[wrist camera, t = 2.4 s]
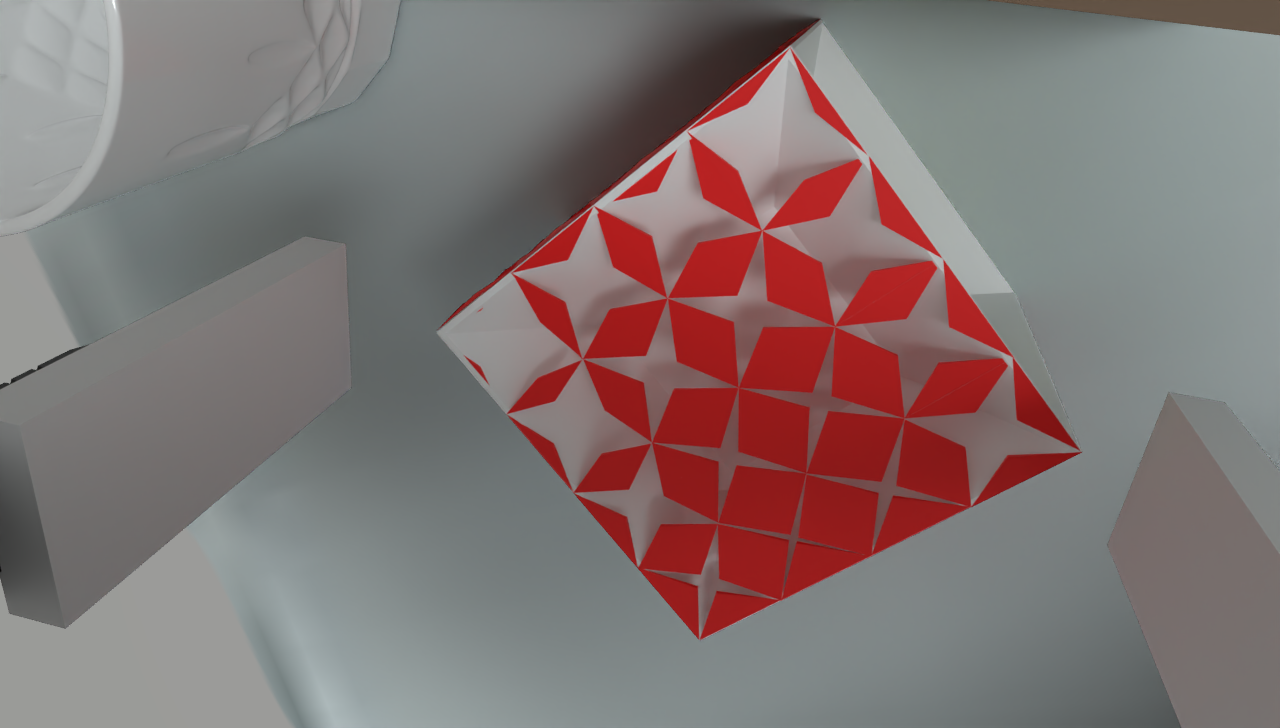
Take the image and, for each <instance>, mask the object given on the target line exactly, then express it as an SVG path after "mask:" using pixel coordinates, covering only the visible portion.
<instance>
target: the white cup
mask: <svg viewBox="0 0 1280 728" xmlns="http://www.w3.org/2000/svg"><path fill="white" fill-rule="evenodd" d="M400 2H401V0H0V236H7V235H12V234H17V233H21V232H25V231H28V230H31V229H34V228H36V227H39V226H42V225H44V224H47V223H50V222H52V221H55V220H58V219H60V218H63V217H66V216H68V215H71V214H74V213H76V212H79V211H82V210H85V209H87V208H90V207H93V206H95V205H98V204H101V203H103V202H106V201H109V200H112V199H114V198H117V197H120V196H123V195H125V194H128V193H131V192H134V191H136V190H139V189H142V188H145V187H147V186H150V185H153V184H156V183H159V182H161V181H164V180H166V179H169V178H171V177H174V176H176V175H179V174H182V173H185V172H188V171H190V170H193V169H196V168H199V167H201V166H204V165H207V164H210V163H212V162H215V161H218V160H221V159H224V158H226V157H229V156H232V155H235V154H239V153H240V152H242V151H244V150H246V149H248V148H251V147H253V146H255V145H257V144H259V143H261V142H265V141H267V140H270V139H273V138H276V137H278V136H280V135H281V134H282V133H283V132H284V131H285V130H286V129H288V128H289V127H291V126H293V125H296V124H298V123H300V122H303V121H305V120H308V119H311V118H313V117H316V116H319V115H321V114H324V113H327V112H329V111H332V110H335V109H337V108H340V107H342V106H345V105H348V104H350V103H353V102H355V101H356V100H357V99H358V97H359V96H360V95H361V94H362V92H363V91H364V90H365V88H366V87H367V86H368V85H369V83H370V82H371V81H372V79H373V78H374V77H375V76H376V74H377V73H378V72H379V71H380V69H381V68H382V67H383V65H384V64H385V63H386V62H387V60H388V59H389V56H390V51H391V46H392V41H393V36H394V31H395V27H396V22H397V17H398V12H399V7H400Z"/></svg>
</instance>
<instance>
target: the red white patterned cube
mask: <svg viewBox="0 0 1280 728" xmlns="http://www.w3.org/2000/svg"><path fill="white" fill-rule="evenodd" d="M817 21H818V20H817ZM817 21H816V22H817ZM816 22H814V23H812V24H811V25H809V26H808V27H806V28H804V29H803V30H801V31H800V32H798V33H796V34H797V35H795V36H794V37H792V38H790V39H789V40H788V41H787V42H785V43H784V44H782V45H781V46H779V48H778V49H777V50H776V51H775V52H774V53H773V54H772V55H770V56H769V57H768V58H767V59H765V60H764V61H763V62H762V63H760V64H759V65H758V66H757V67H756V68H754V69H753V70H752V71H750V72H749V73H747V74H746V75H744V76H743V77H742V78H740V79H739V80H737V81H736V82H735V83H733V84H732V85H731V86H730V87H729V88H728V89H727V90H726V91H725V92H724V93H723V94H722V95H721V96H720V97H719V98H718V99H717V100H715V101H714V102H713V103H712V104H710V105H709V106H708V107H706V108H705V109H704V110H703V111H702V112H701V113H700V114H698V115H697V116H696V117H694V118H693V119H692V120H690V121H689V122H688V123H687V124H686V125H685V126H683V127H682V128H681V129H679V130H678V131H677V132H675V133H674V135H672V136H671V137H669V138H668V139H667V140H666V141H665V142H664V143H662V144H661V145H660V146H658V147H657V148H656V149H655V150H654V151H653V152H651V153H650V154H648V155H647V156H645V157H644V158H642V159H641V160H640V161H639V162H638V163H637V164H636V165H635V166H634V167H632V168H631V169H630V170H629V171H628V172H627V173H625V174H624V175H623V176H622V177H620V178H619V179H618V180H617V181H616V182H614V183H613V184H612V185H611V186H610V187H609V188H607V189H606V190H604V191H603V192H602V193H601V194H600V195H599V196H598V197H596V198H595V199H593V200H592V201H590V202H589V203H588V204H587V205H586V206H585V207H584V208H582V209H581V210H580V211H578V212H577V213H575V214H574V215H573V216H572V217H571V218H570V219H569V220H568V221H566V222H565V223H564V224H562V225H561V226H559V227H558V228H556V229H555V230H554V231H553V232H552V233H551V234H550V235H549V236H548V237H546V238H545V239H543V240H542V241H541V242H540V243H539V244H538V245H537V246H536V247H535V248H534V249H533V250H531V251H530V252H529V253H528V254H527V255H525V256H523V257H522V258H520V259H519V260H518V261H516V262H515V263H514V264H513V265H512V266H511V267H509V268H508V269H506V270H505V271H504V272H503V273H502V274H501V275H500V276H499V277H498V278H497V279H496V280H495V281H494V282H492V283H491V284H489V285H488V286H486V287H485V288H483V289H482V290H480V291H479V292H477V293H476V294H474V295H473V296H472V297H471V298H470V299H469V300H468V301H467V302H466V303H463V304H462V305H461V306H460V307H459V308H458V309H457V310H456V311H455V312H454V313H453V314H452V315H451V316H450V317H449V318H448V319H447V320H446V322H445V323H447V322H448V321H449V320H450V319H452V318H453V317H454V316H455V315H457V314H458V313H459V312H460V311H461V310H463V309H464V308H465V307H466V306H468V305H469V304H470V303H471V302H473V301H474V300H475V299H476V298H477V297H479V296H480V295H481V294H482V293H484V294H482V295H481V296H480V297H479V298H477V299H476V300H475V301H474V302H473V303H471V304H470V305H469V306H468V307H466V308H465V309H464V310H463V311H462V312H460V313H459V314H458V315H457V316H455V317H454V318H453V319H452V320H451V321H449V322H448V323H447V324H446V325H444V324H445V323H444V324H443V325H444V326H443V325H442V326H443V327H442V326H441V327H442V328H441V329H440V330H438V331H437V332H436V333H437V334H438V335H439V336H440V337H441V339H442V340H443V341H444V342H445V343H446V344H447V346H448V347H449V348H450V349H451V350H452V351H453V353H454V354H455V355H456V356H457V357H458V358H459V360H460V361H461V362H462V363H463V364H464V365H465V367H466V368H467V369H468V370H469V371H470V372H471V374H472V375H473V376H474V377H475V378H476V379H477V381H478V382H479V383H480V384H481V385H482V387H483V388H484V389H485V390H486V391H487V392H488V394H489V395H490V396H491V397H492V398H493V399H494V401H495V402H496V403H497V404H498V405H499V406H500V408H501V409H502V410H503V411H504V412H505V413H506V415H507V416H508V417H509V418H510V419H511V420H512V422H513V423H514V424H515V425H516V426H517V427H518V429H519V430H520V431H521V432H522V433H523V434H524V436H525V437H526V438H527V439H528V440H529V441H530V443H531V444H532V445H533V446H534V447H535V448H536V450H537V451H538V452H539V453H540V454H541V455H542V457H543V458H544V459H545V460H546V461H547V463H548V464H549V465H550V466H551V467H552V468H553V470H554V471H555V472H556V473H557V474H558V475H559V477H560V478H561V479H562V480H563V481H564V482H565V484H566V485H567V486H568V487H569V488H570V489H571V491H572V492H573V493H574V494H575V495H576V497H577V498H578V499H579V500H580V501H581V502H582V504H583V505H584V506H585V507H586V508H587V509H588V511H589V512H590V513H591V514H592V515H593V516H594V518H595V519H596V520H597V521H598V522H599V523H600V525H601V526H602V527H603V528H604V529H605V530H606V532H607V533H608V534H609V535H610V536H611V537H612V539H613V540H614V541H615V542H616V543H617V544H618V546H619V547H620V548H621V549H622V550H623V551H624V553H625V554H626V555H627V556H628V557H629V558H630V560H631V561H632V562H633V563H634V564H635V565H636V567H637V568H638V569H639V570H640V571H641V573H642V574H643V575H644V576H645V577H646V578H647V580H648V581H649V582H650V583H651V584H652V585H653V587H654V588H655V589H656V590H657V591H658V592H659V594H660V595H661V596H662V597H663V598H664V599H665V601H666V602H667V603H668V604H669V605H670V606H671V608H672V609H673V610H674V611H675V612H676V613H677V615H678V616H679V617H680V618H681V619H682V620H683V622H684V623H685V624H686V625H687V626H688V627H689V629H690V630H691V631H692V632H693V633H694V635H695V636H696V637H697V638H698V639H699V640H700V641H701V640H703V639H705V638H707V637H709V636H712V635H714V634H716V633H718V632H720V631H722V630H724V629H726V628H728V627H730V626H732V625H734V624H736V623H738V622H740V621H742V620H744V619H746V618H748V617H750V616H752V615H754V614H756V613H758V612H760V611H762V610H764V609H766V608H768V607H770V606H772V605H774V604H776V603H778V602H780V601H782V600H784V599H786V598H788V597H790V596H792V595H794V594H796V593H798V592H800V591H803V590H805V589H807V588H809V587H811V586H813V585H815V584H817V583H819V582H821V581H823V580H825V579H827V578H829V577H831V576H833V575H835V574H837V573H839V572H841V571H843V570H845V569H847V568H849V567H851V566H853V565H855V564H857V563H859V562H861V561H863V560H865V559H867V558H869V557H872V556H873V555H875V554H877V553H879V552H881V551H883V550H885V549H887V548H889V547H891V546H893V545H896V544H898V543H900V542H902V541H904V540H906V539H908V538H910V537H912V536H914V535H916V534H918V533H920V532H922V531H924V530H926V529H928V528H930V527H932V526H934V525H936V524H938V523H940V522H942V521H944V520H946V519H948V518H950V517H952V516H954V515H956V514H958V513H960V512H962V511H964V510H966V509H968V508H970V507H973V506H975V505H977V504H979V503H981V502H983V501H985V500H987V499H989V498H991V497H993V496H995V495H997V494H999V493H1001V492H1003V491H1005V490H1007V489H1009V488H1011V487H1013V486H1015V485H1017V484H1019V483H1021V482H1023V481H1025V480H1027V479H1029V478H1031V477H1033V476H1035V475H1037V474H1039V473H1041V472H1043V471H1046V470H1048V469H1050V468H1052V467H1054V466H1056V465H1058V464H1060V463H1062V462H1064V461H1066V460H1068V459H1070V458H1072V457H1074V456H1076V455H1078V454H1080V453H1082V450H1081V448H1080V445H1079V443H1078V441H1077V438H1076V436H1075V433H1074V431H1073V429H1072V426H1071V424H1070V422H1069V419H1068V417H1067V414H1066V412H1065V410H1064V407H1063V405H1062V403H1061V400H1060V398H1059V396H1058V393H1057V391H1056V388H1055V386H1054V384H1053V381H1052V379H1051V377H1050V374H1049V372H1048V369H1047V367H1046V365H1045V362H1044V360H1043V358H1042V355H1041V353H1040V350H1039V348H1038V346H1037V343H1036V341H1035V339H1034V336H1033V334H1032V332H1031V329H1030V327H1029V324H1028V322H1027V320H1026V317H1025V315H1024V313H1023V310H1022V308H1021V305H1020V303H1019V301H1018V298H1017V296H1016V294H1015V293H1014V291H1013V290H1012V289H1011V287H1010V286H1009V284H1008V283H1007V282H1006V280H1005V279H1004V277H1003V276H1002V275H1001V273H1000V272H999V270H998V269H997V267H996V266H995V265H994V263H993V262H992V260H991V259H990V258H989V256H988V255H987V253H986V252H985V251H984V249H983V248H982V246H981V245H980V244H979V242H978V241H977V239H976V238H975V237H974V235H973V234H972V232H971V231H970V229H969V228H968V227H967V225H966V224H965V222H964V221H963V220H962V218H961V217H960V215H959V214H958V213H957V211H956V210H955V208H954V207H953V206H952V204H951V203H950V201H949V200H948V198H947V197H946V196H945V194H944V193H943V191H942V190H941V189H940V187H939V186H938V184H937V183H936V182H935V180H934V179H933V177H932V176H931V175H930V173H929V172H928V170H927V169H926V167H925V166H924V165H923V163H922V162H921V160H920V159H919V158H918V156H917V155H916V153H915V152H914V151H913V149H912V148H911V146H910V145H909V144H908V142H907V141H906V139H905V138H904V136H903V135H902V134H901V132H900V131H899V129H898V128H897V127H896V125H895V124H894V122H893V121H892V120H891V118H890V117H889V115H888V114H887V113H886V111H885V110H884V108H883V107H882V105H881V104H880V103H879V101H878V100H877V98H876V97H875V96H874V94H873V93H872V91H871V90H870V89H869V87H868V86H867V84H866V83H865V82H864V80H863V79H862V77H861V76H860V74H859V73H858V72H857V70H856V69H855V67H854V66H853V65H852V63H851V62H850V60H849V59H848V58H847V56H846V55H845V53H844V52H843V51H842V49H841V48H840V46H839V45H838V43H837V42H836V41H835V39H834V38H833V36H832V35H831V34H830V32H829V31H828V29H827V28H826V27H825V25H824V24H823V21H822V20H819V21H818V22H817V23H816ZM815 23H816V24H815ZM813 24H815V25H813ZM812 25H813V26H812ZM811 26H812V27H811ZM807 30H808V31H807ZM800 36H801V37H800Z"/></svg>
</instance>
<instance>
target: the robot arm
mask: <svg viewBox="0 0 1280 728" xmlns="http://www.w3.org/2000/svg"><path fill="white" fill-rule="evenodd" d="M351 388H352V381H351V357H350V333H349V309H348V285H347V261H346V244H345V243H339V242H333V241H328V240H322V239H317V238H311V237H306V236H304V237H302V238H300V239H298V240H296V241H294V242H292V243H290V244H288V245H286V246H284V247H282V248H280V249H278V250H276V251H274V252H272V253H270V254H268V255H266V256H264V257H263V258H261V259H259V260H257V261H255V262H253V263H251V264H249V265H247V266H245V267H243V268H241V269H239V270H237V271H235V272H233V273H231V274H229V275H227V276H225V277H223V278H221V279H219V280H217V281H215V282H213V283H211V284H209V285H207V286H205V287H203V288H201V289H199V290H197V291H195V292H193V293H191V294H189V295H187V296H185V297H183V298H181V299H179V300H177V301H175V302H173V303H171V304H169V305H167V306H165V307H163V308H161V309H159V310H157V311H155V312H153V313H151V314H149V315H147V316H145V317H143V318H141V319H139V320H137V321H135V322H133V323H131V324H129V325H127V326H125V327H123V328H121V329H119V330H117V331H115V332H113V333H111V334H109V335H107V336H105V337H103V338H102V339H100V340H98V341H96V342H94V343H92V344H90V345H86V346H82V347H79V348H75V349H72V350H69V351H67V352H65V353H63V354H61V355H59V356H57V357H55V358H53V359H51V360H49V361H47V362H45V363H43V364H41V365H39V366H38V368H37V370H33V369H31V370H29V371H27V372H25V373H23V374H21V375H19V376H17V377H15V378H13V379H11V383H10V384H9V383H3V384H1V385H0V579H1V583H2V586H3V590H4V594H5V598H6V602H7V606H8V610H9V613H10V614H13V615H17V616H20V617H24V618H28V619H32V620H35V621H39V622H42V623H47V624H50V625H54V626H58V627H61V628H65V629H66V628H67V627H68V626H69V625H70V624H72V623H73V622H74V621H75V620H76V619H78V618H79V617H80V616H81V615H82V614H83V613H85V612H86V611H87V610H88V609H89V608H91V607H92V606H93V605H94V604H95V603H97V602H98V601H99V600H100V599H101V598H102V597H103V596H105V595H106V594H107V593H108V592H110V591H111V590H112V589H113V588H114V587H116V586H117V585H118V584H119V583H120V582H121V581H123V580H124V579H125V578H126V577H127V576H128V575H130V574H131V573H132V572H133V571H134V570H136V569H137V568H138V567H139V566H140V565H142V563H144V562H145V561H146V560H148V559H149V558H150V557H151V556H152V555H154V554H155V553H156V552H157V551H158V550H159V549H161V548H162V547H163V546H164V545H165V544H167V543H168V542H169V541H170V540H171V539H173V538H174V537H175V536H176V535H177V534H178V533H179V532H181V531H182V530H183V529H184V528H186V527H187V526H188V525H189V524H190V523H192V522H193V521H194V520H195V519H196V518H197V517H199V516H200V515H201V514H202V513H203V512H205V511H206V510H207V509H208V508H209V507H211V506H212V505H213V504H214V503H215V502H216V501H218V500H219V499H220V498H221V497H222V496H224V495H225V494H226V493H227V492H228V491H230V490H231V489H232V488H233V487H234V486H235V485H237V484H238V483H239V482H240V481H241V480H243V479H244V478H245V477H246V476H247V475H249V474H250V473H251V472H252V471H253V470H254V469H256V468H257V467H258V466H259V465H260V464H262V463H263V462H264V461H265V460H266V459H268V458H269V457H270V456H271V455H272V454H273V453H275V452H276V451H277V450H278V449H279V448H281V447H282V446H283V445H284V444H285V443H287V442H288V441H289V440H290V439H291V438H292V437H294V436H295V435H296V434H297V433H298V432H300V431H301V430H302V429H303V428H304V427H306V426H307V425H308V424H309V423H310V422H311V421H313V420H314V419H315V418H316V417H317V416H319V415H320V414H321V413H322V412H323V411H325V410H326V409H327V408H328V407H329V406H330V405H332V404H333V403H334V402H335V401H336V400H338V399H339V398H340V397H341V396H342V395H344V394H345V393H346V392H347V391H348V390H349V389H351ZM1107 545H1108V548H1109V550H1110V553H1111V555H1112V558H1113V560H1114V563H1115V565H1116V568H1117V570H1118V572H1119V575H1120V577H1121V580H1122V582H1123V585H1124V587H1125V590H1126V592H1127V595H1128V597H1129V600H1130V602H1131V605H1132V607H1133V609H1134V612H1135V614H1136V617H1137V619H1138V622H1139V624H1140V627H1141V629H1142V632H1143V634H1144V637H1145V639H1146V642H1147V644H1148V647H1149V649H1150V651H1151V654H1152V656H1153V659H1154V661H1155V664H1156V666H1157V669H1158V671H1159V674H1160V676H1161V679H1162V681H1163V684H1164V686H1165V689H1166V691H1167V693H1168V696H1169V698H1170V701H1171V703H1172V706H1173V708H1174V711H1175V713H1176V716H1177V718H1178V721H1179V723H1180V726H1181V728H1280V471H1279V470H1278V469H1277V468H1276V466H1275V465H1274V464H1273V463H1272V461H1271V460H1270V459H1269V457H1268V456H1267V455H1266V454H1265V452H1264V451H1263V450H1262V449H1261V447H1260V446H1259V445H1258V444H1257V442H1256V441H1255V440H1254V439H1253V437H1252V436H1251V435H1250V434H1249V432H1248V431H1247V430H1246V429H1245V427H1244V426H1243V425H1242V424H1241V422H1240V421H1239V420H1238V418H1237V417H1236V416H1235V415H1234V413H1233V412H1232V411H1231V410H1230V408H1229V407H1228V406H1227V405H1226V403H1225V402H1220V401H1214V400H1209V399H1203V398H1197V397H1192V396H1186V395H1181V394H1175V393H1170V392H1169V393H1168V395H1167V398H1166V400H1165V403H1164V405H1163V408H1162V410H1161V412H1160V415H1159V417H1158V420H1157V422H1156V425H1155V427H1154V430H1153V432H1152V435H1151V437H1150V440H1149V442H1148V445H1147V447H1146V450H1145V452H1144V455H1143V457H1142V460H1141V462H1140V465H1139V467H1138V470H1137V472H1136V475H1135V477H1134V480H1133V482H1132V484H1131V487H1130V489H1129V492H1128V494H1127V497H1126V499H1125V502H1124V504H1123V507H1122V509H1121V512H1120V514H1119V517H1118V519H1117V522H1116V524H1115V527H1114V529H1113V532H1112V534H1111V537H1110V539H1109V542H1108V544H1107Z"/></svg>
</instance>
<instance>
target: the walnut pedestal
mask: <svg viewBox="0 0 1280 728" xmlns="http://www.w3.org/2000/svg"><path fill="white" fill-rule="evenodd" d="M989 1H997V2H1006V3H1014V4H1022V5H1031V6H1039V7H1048V8H1056V9H1064V10H1073V11H1081V12H1089V13H1098V14H1106V15H1115V16H1123V17H1131V18H1140V19H1148V20H1156V21H1165V22H1173V23H1182V24H1190V25H1198V26H1207V27H1215V28H1223V29H1232V30H1240V31H1249V32H1257V33H1265V34H1274V35H1280V0H989Z"/></svg>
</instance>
